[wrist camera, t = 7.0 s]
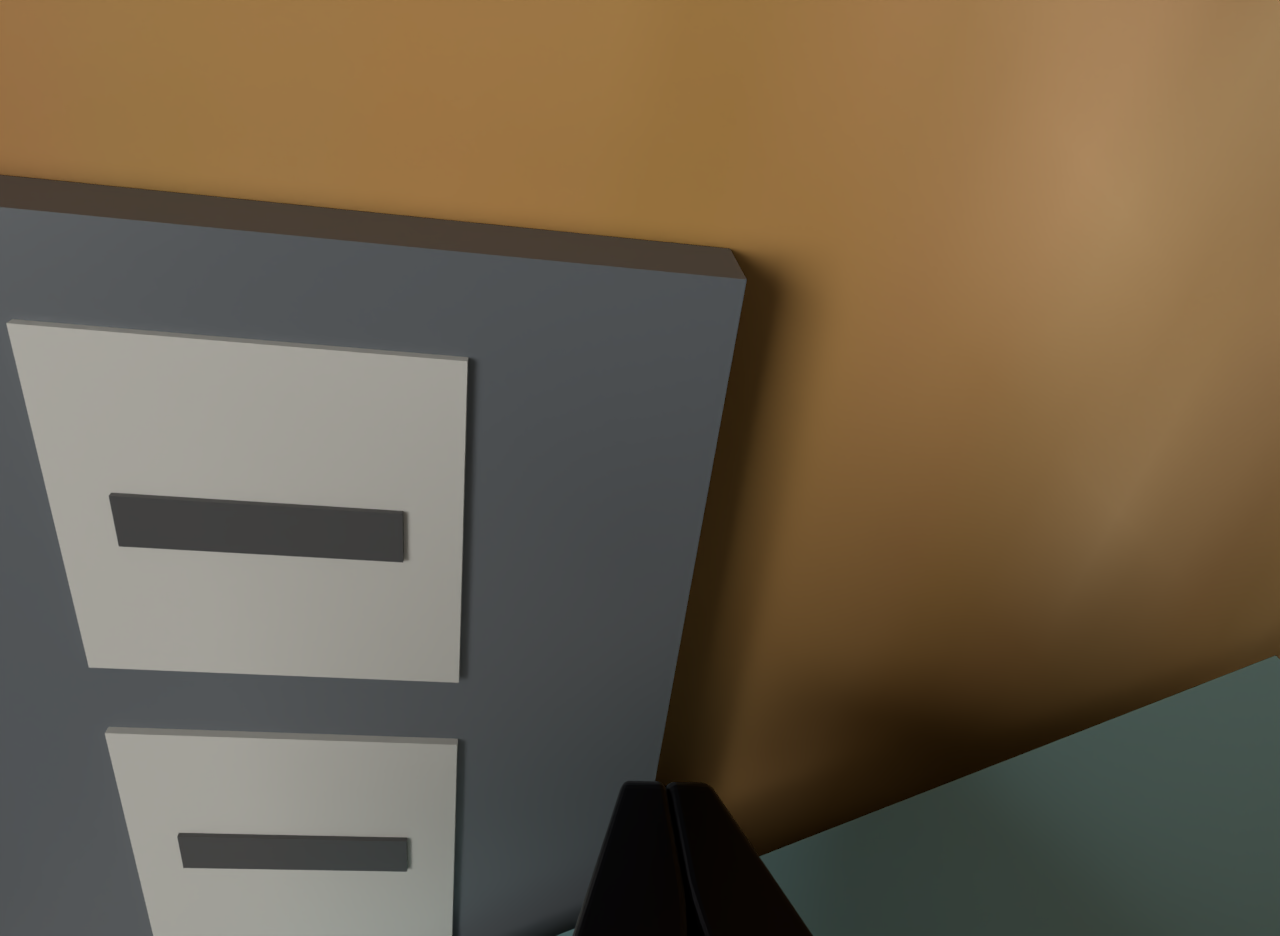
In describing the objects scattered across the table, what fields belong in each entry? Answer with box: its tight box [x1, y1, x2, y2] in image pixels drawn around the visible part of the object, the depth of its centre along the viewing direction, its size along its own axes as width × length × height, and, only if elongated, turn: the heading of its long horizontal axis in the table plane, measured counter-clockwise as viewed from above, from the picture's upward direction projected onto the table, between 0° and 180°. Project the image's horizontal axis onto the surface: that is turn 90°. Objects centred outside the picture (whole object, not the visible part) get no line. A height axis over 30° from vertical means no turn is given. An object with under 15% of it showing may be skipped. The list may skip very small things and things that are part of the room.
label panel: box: [0, 175, 747, 936], centre depth 11 cm, size 9×11×1 cm
